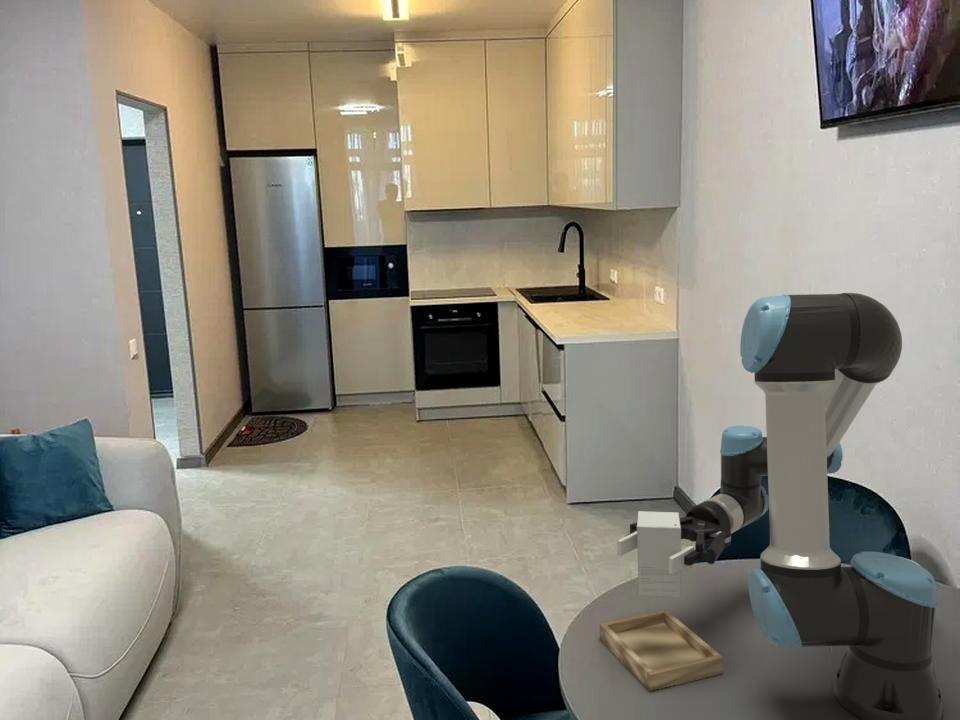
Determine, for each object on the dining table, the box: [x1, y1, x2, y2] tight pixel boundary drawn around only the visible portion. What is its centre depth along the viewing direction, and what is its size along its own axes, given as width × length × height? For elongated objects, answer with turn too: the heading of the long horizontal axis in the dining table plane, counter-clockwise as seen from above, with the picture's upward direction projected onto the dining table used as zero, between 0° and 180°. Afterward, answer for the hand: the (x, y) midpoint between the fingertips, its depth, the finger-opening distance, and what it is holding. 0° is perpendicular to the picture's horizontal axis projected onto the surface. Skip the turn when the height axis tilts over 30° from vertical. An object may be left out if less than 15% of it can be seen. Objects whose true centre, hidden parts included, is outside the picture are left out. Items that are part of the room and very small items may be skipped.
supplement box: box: [636, 510, 682, 598], centre depth 137 cm, size 7×7×13 cm
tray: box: [599, 609, 724, 692], centre depth 139 cm, size 18×14×3 cm
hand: (644, 557), depth 133 cm, fingers closed on supplement box, 10 cm apart
